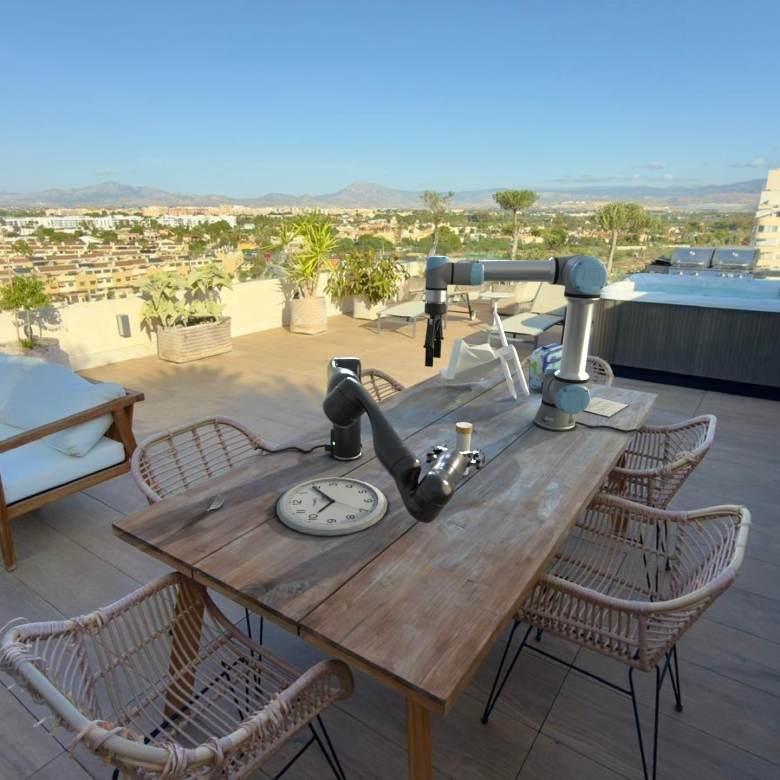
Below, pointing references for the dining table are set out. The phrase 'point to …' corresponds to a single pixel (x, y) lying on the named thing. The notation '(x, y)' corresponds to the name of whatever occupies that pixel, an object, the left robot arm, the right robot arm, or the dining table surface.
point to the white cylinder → (463, 444)
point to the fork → (213, 506)
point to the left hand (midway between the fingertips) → (461, 448)
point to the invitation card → (604, 406)
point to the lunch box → (543, 363)
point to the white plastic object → (482, 362)
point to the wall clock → (331, 506)
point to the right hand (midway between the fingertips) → (433, 362)
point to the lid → (464, 428)
